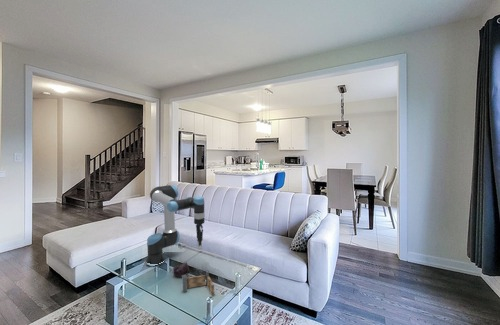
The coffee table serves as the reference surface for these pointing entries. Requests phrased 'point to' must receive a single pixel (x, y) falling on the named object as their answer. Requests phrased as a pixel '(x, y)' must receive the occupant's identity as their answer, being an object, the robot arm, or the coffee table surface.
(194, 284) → the gate
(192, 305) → the coffee table surface
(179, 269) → the rock
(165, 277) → the coffee table surface
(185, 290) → the posts
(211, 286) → the fence
